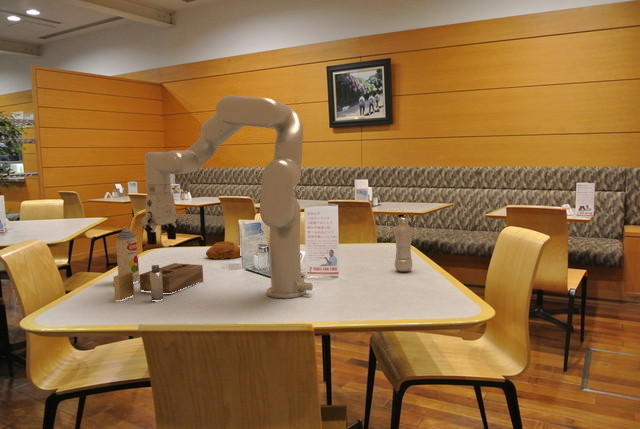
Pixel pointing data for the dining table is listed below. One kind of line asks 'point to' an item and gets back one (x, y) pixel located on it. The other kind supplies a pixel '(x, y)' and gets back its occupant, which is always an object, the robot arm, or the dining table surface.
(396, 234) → the plastic bottle
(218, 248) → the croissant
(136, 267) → the aerosol can
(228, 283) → the dining table surface
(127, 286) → the tan wooden block
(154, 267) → the small grey capped bottle
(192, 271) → the socket block
